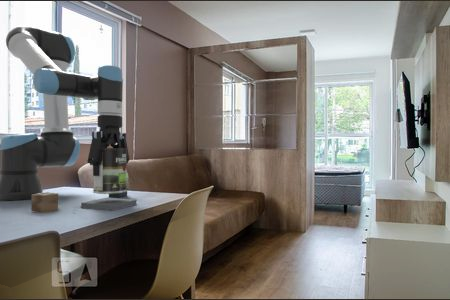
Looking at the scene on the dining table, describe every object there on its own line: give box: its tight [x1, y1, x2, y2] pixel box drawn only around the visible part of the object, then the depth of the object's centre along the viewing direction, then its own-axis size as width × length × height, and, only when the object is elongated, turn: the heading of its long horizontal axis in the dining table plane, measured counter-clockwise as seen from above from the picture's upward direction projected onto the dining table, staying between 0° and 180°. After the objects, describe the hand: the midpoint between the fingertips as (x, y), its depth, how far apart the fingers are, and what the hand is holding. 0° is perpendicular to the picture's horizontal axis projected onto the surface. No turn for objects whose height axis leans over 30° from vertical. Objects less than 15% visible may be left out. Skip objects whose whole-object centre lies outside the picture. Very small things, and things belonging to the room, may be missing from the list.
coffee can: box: [92, 147, 128, 195], centre depth 113 cm, size 10×10×14 cm
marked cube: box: [31, 191, 59, 214], centre depth 104 cm, size 5×5×5 cm
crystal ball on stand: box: [108, 170, 130, 199], centre depth 132 cm, size 6×8×11 cm
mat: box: [80, 197, 137, 211], centre depth 113 cm, size 12×12×2 cm
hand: (109, 184), depth 113 cm, fingers closed on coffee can, 10 cm apart
